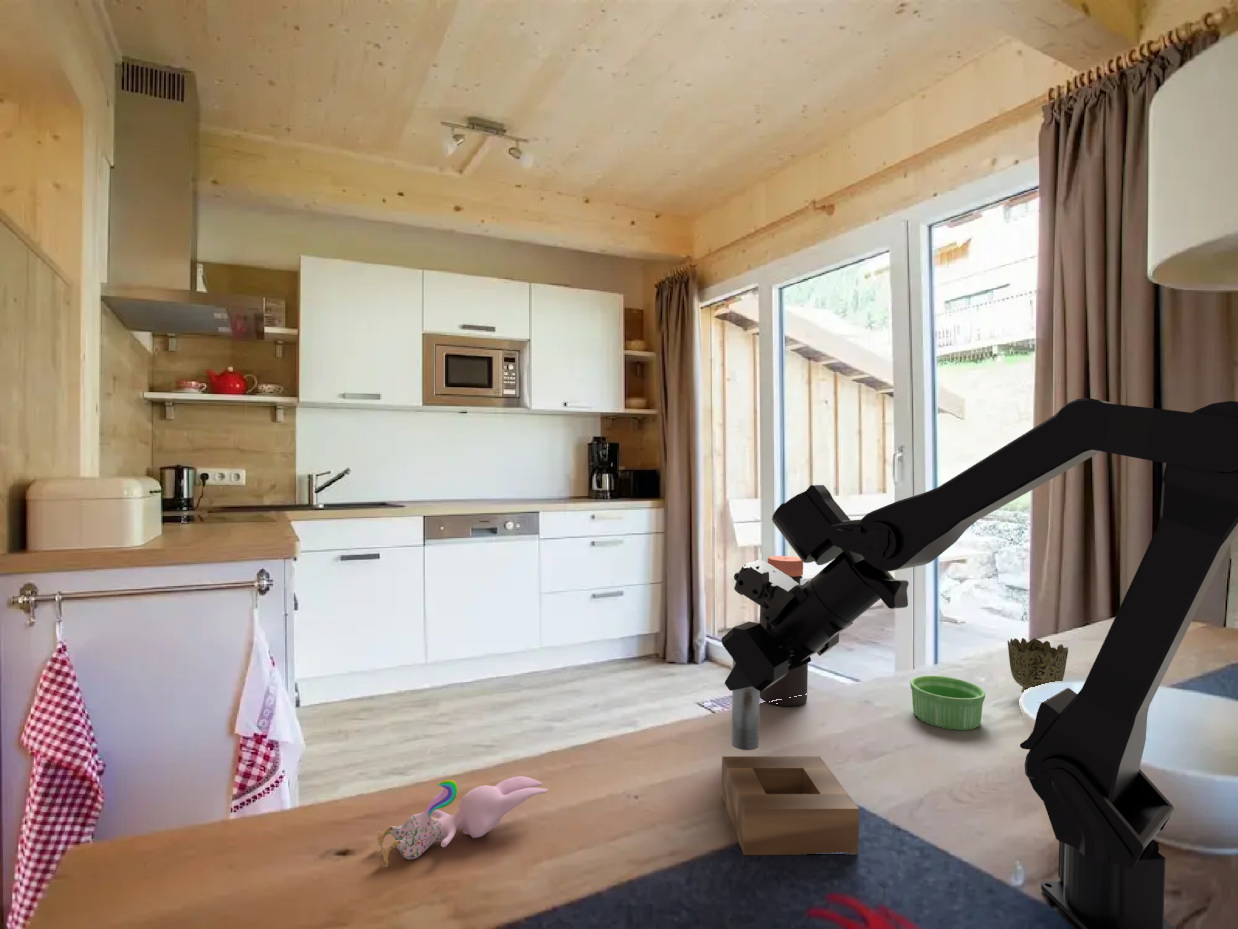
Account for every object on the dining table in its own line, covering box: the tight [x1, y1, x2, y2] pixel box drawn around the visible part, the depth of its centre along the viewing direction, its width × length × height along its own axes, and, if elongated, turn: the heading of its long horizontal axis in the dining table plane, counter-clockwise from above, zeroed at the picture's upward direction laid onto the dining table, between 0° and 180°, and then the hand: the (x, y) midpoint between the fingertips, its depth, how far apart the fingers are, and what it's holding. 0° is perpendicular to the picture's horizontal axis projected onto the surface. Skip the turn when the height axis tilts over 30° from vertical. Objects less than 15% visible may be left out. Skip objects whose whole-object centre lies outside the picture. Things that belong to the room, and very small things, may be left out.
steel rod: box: [731, 624, 761, 751], centre depth 74 cm, size 3×3×13 cm
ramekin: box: [909, 675, 986, 731], centre depth 89 cm, size 9×9×4 cm
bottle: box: [759, 555, 809, 707], centre depth 95 cm, size 7×7×20 cm
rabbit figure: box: [376, 775, 549, 868], centre depth 60 cm, size 6×6×15 cm
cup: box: [1007, 637, 1069, 694], centre depth 96 cm, size 8×7×8 cm
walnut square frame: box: [720, 755, 860, 856], centre depth 63 cm, size 10×10×4 cm
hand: (734, 682), depth 75 cm, fingers closed on steel rod, 3 cm apart
